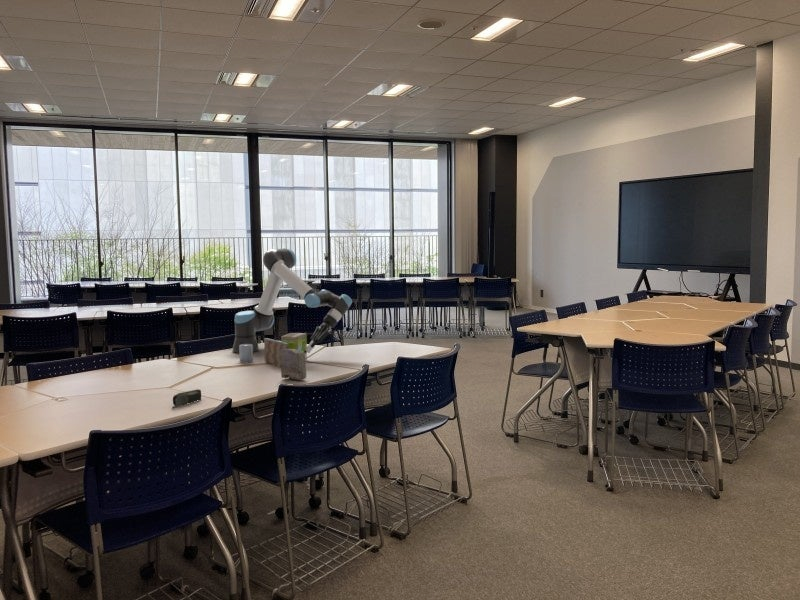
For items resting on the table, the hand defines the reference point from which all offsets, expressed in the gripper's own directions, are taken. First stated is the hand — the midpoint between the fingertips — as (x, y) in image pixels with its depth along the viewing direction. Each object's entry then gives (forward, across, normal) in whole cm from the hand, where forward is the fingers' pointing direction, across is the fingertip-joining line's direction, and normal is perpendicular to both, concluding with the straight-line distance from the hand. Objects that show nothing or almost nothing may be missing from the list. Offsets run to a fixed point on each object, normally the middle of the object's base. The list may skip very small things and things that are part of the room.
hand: (307, 351), depth 341 cm
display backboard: (+17, 0, +10) cm, 19 cm away
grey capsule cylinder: (+22, +20, +15) cm, 33 cm away
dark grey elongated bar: (+64, -47, +56) cm, 97 cm away
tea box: (+9, +2, +1) cm, 9 cm away
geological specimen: (+25, -38, +18) cm, 49 cm away
